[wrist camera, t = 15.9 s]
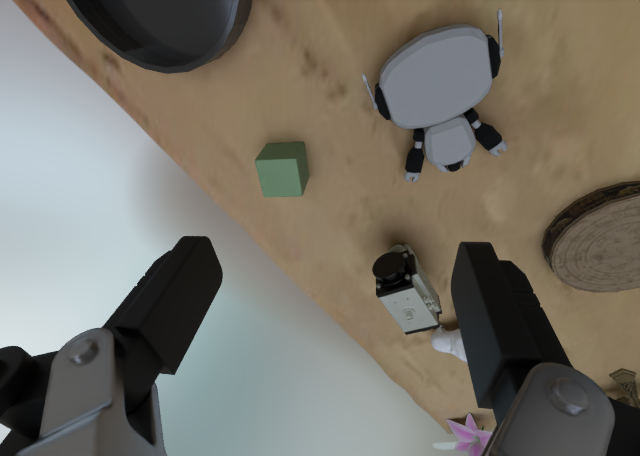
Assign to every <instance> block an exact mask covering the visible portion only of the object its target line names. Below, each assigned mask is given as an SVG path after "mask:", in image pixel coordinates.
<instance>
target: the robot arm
mask: <svg viewBox="0 0 640 456" xmlns="http://www.w3.org/2000/svg"><path fill="white" fill-rule="evenodd" d="M222 275H223V274H222V268H221V265H220V263H219V260H218V258H217V255H216V253H215V251H214V248H213V246H212V243H211V241H210V239H209V238H208V237H205V236H184V237H182V238H181V239H180V240H179V241H178V243H177V244H176V245H175V247H174V248H173V249H172V250H171V251H168V252H167V253H165V254H164V255H163V256H161V257H160V258H159V259H157V260H156V261H155V262H154V263H153V264H152V266H151V267H150V268H149V269H148V271H147V272H146V273H145V276H143V277H142V278H141V279H140V281H139V282H138V283H137V286H135V287H134V288H133V289H132V291H131V292H130V293H129V295H128V296H127V297H126V298H125V299H124V301H123V302H122V303H121V305H120V306H119V307H118V308H117V309H116V311H115V312H114V313H113V315H112V316H111V317H110V318H109V320H108V321H107V322H106V323H105V325H104V326H103V327H102V328H94V329H90V330H87V331H85V332H83V333H81V334H79V335H77V336H75V337H74V338H72V339H71V340H70V341H68V342H67V343H66V344H65V345H64V346H63V347H62V348H61V349H60V350H59V351H55V352H50V353H46V354H42V355H37V356H33V357H32V356H31V355H29V354H28V353H27V352H26V351H24V350H23V349H22V348H21V347H18V346H8V347H5V348H1V349H0V423H1V424H3V425H4V426H6V427H8V428H10V429H11V431H10V433H9V434H8V435H7V436H6V438H5V439H4V440H3V442H2V443H1V444H0V456H167V454H166V451H165V447H164V440H163V433H162V424H161V415H160V408H159V399H158V390H157V386H156V384H155V380H156V378H157V376H158V375H159V373H162V374H171V375H175V373H176V371H177V369H178V367H179V365H180V363H181V361H182V359H183V357H184V355H185V354H186V352H187V350H188V348H189V346H190V344H191V342H192V340H193V338H194V336H195V334H196V332H197V330H198V328H199V326H200V325H201V323H202V321H203V319H204V317H205V315H206V313H207V311H208V309H209V307H210V305H211V303H212V301H213V299H214V297H215V295H216V294H217V292H218V290H219V288H220V286H221V283H222V277H223V276H222ZM451 294H452V300H453V304H454V308H455V312H456V317H457V321H458V325H459V329H460V333H461V338H462V342H463V346H464V350H465V354H466V359H467V363H468V367H469V371H470V375H471V380H472V384H473V388H474V392H475V396H476V400H477V405H478V408H487V409H493V411H494V415H495V419H496V422H497V425H496V427H495V429H494V431H493V433H492V435H491V437H490V438H489V440H488V442H487V444H486V446H485V448H484V450H483V452H482V454H481V456H640V409H638V408H635V407H633V406H630V405H627V404H624V403H622V402H619V401H617V400H614V399H612V398H610V397H608V396H606V394H605V393H604V392H603V390H602V389H601V388H600V387H599V386H598V385H597V384H596V383H595V382H594V381H593V380H591V379H590V378H589V377H587V376H586V375H584V374H583V373H581V372H580V371H578V370H576V369H574V368H573V366H572V365H571V363H570V361H569V359H568V357H567V355H566V354H565V352H564V350H563V348H562V346H561V344H560V342H559V340H558V338H557V336H556V334H555V332H554V330H553V328H552V326H551V324H550V322H549V320H548V318H547V316H546V314H545V312H544V310H543V308H542V307H540V302H539V300H538V298H537V297H536V295H535V294H534V293H533V289H532V287H531V285H530V283H529V281H528V279H527V277H526V275H525V274H524V273H523V272H522V271H521V270H520V269H519V268H518V267H517V266H516V265H514V264H513V263H512V262H511V261H505V260H498V258H497V255H496V253H495V251H494V249H493V246H492V244H491V243H490V242H461V243H460V244H459V248H458V252H457V256H456V261H455V265H454V269H453V274H452V278H451Z"/></svg>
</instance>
